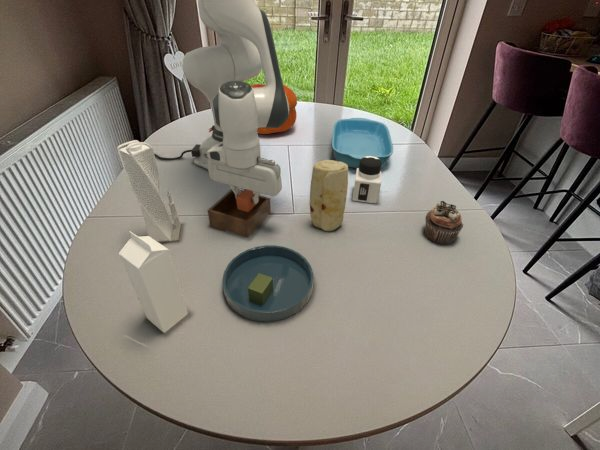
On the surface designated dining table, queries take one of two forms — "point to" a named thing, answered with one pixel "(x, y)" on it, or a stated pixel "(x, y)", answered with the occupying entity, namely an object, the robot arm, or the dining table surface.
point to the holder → (238, 215)
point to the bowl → (286, 282)
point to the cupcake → (443, 223)
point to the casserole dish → (361, 141)
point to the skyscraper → (149, 191)
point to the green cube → (260, 289)
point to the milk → (154, 280)
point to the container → (368, 180)
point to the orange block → (245, 200)
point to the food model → (328, 194)
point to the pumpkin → (292, 112)
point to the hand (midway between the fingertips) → (247, 200)
